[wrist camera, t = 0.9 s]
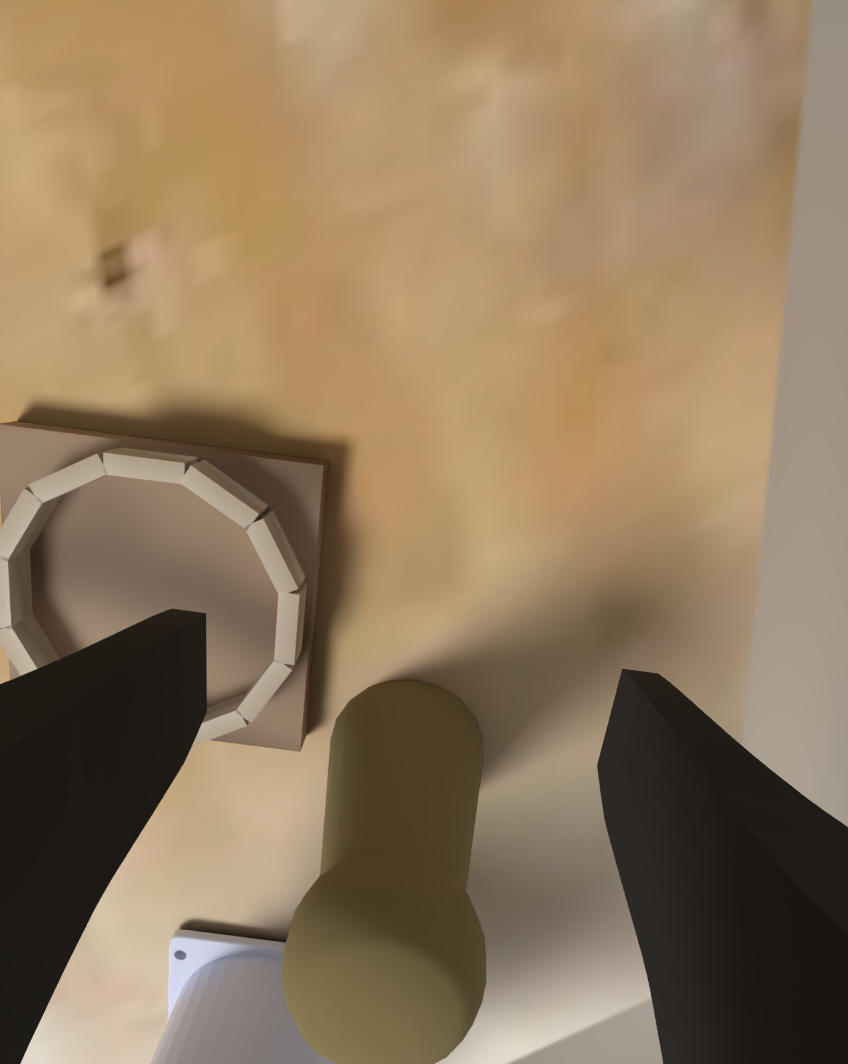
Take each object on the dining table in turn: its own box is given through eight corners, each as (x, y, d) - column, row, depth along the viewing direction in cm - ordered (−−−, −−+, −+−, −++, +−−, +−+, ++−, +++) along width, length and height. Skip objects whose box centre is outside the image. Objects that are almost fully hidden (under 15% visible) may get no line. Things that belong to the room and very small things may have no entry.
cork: (495, 690, 25) (530, 940, 14) (471, 823, 27) (487, 1136, 16) (337, 669, 25) (256, 904, 14) (323, 803, 27) (241, 1103, 16)
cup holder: (305, 736, 26) (293, 771, 24) (28, 701, 26) (-10, 732, 24) (328, 460, 23) (316, 471, 21) (15, 420, 23) (-29, 427, 21)
